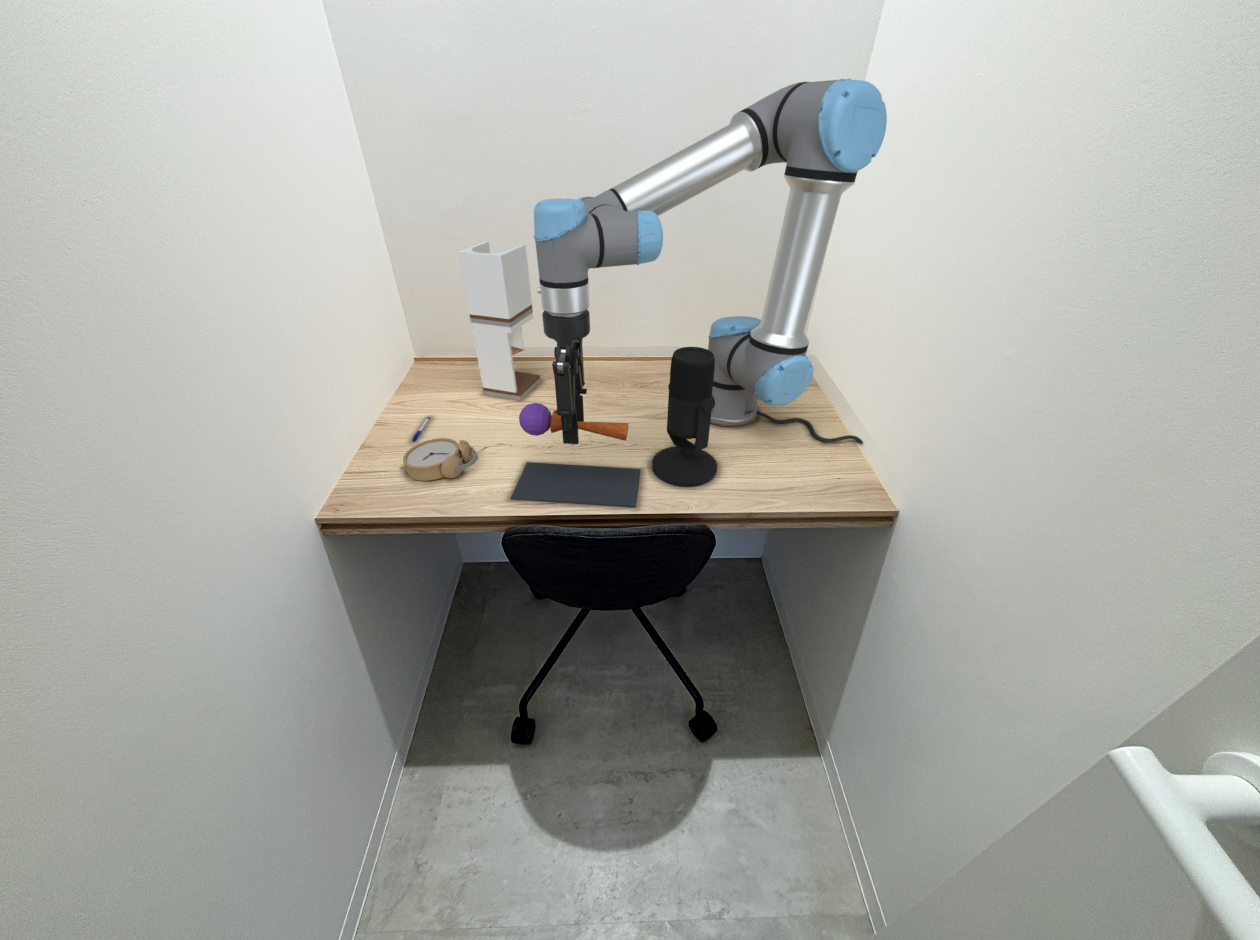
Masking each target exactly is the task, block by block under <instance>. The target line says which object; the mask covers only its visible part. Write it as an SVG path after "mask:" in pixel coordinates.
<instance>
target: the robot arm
mask: <svg viewBox="0 0 1260 940" xmlns="http://www.w3.org/2000/svg"><path fill="white" fill-rule="evenodd" d="M887 115H888V114H887V107H886V102H885V101H884V100H883V95H882V93H881V91H880V90H879V89H878V88H877V87H876V85H874V84H873V83H871V82H869V81H867V80H861V79H852V78H839V79H831V80H819V81H818V80H817V81H798V82H794V83H791V84H789V85H787V86H784V87H782V88H780V89H778V90H776V91H774V92H773V93H770V94H768V95H766V96H765V97H763V98H760V99H759V100H758V101H756V102H754V103H753V104H751V105H749V106H747V107H745V108H744V109H742V110H740V111H738V112H736V113H734V114H733V116H732V117H731V119H730V122H729V124H728V125H726V126H724V127H722V128H719V129H718V130H716V131H714V132H713V133H711V134H709V135H707V136H705V137H703V138H702V139H700V140H698V141H696V142H694V143H693V144H691V145H689V146H687V147H685V148H683V149H681V150H679V151H677V152H676V153H674V154H672V155H670V156H668V157H666V158H665V159H663V160H661V161H659V162H657V163H655V164H654V165H652V166H650V167H648V168H646V169H644V170H643V171H641V172H639V173H636V174H635V175H633V176H631V177H630V178H627V179H625V180H624V181H622V182H620V183H618V184H616V185H615V186H613V187H611V188H609V189H607V190H605V191H602V192H601V193H599V194H597V195H596V196H582V197H579V198H547V199H543V200H540V201H538V202H537V203H536V204H535V205H534V208H533V231H534V232H533V238H534V242H535V252H536V260H537V269H538V279H539V281H538V282H539V287H537V289H536V293H537V294H539V295H540V303H541V308H542V310H543V312H542V313H541V317H542V323H543V324H542V327H543V334H544V336H546V337H547V338H549V339H552V340H554V341H555V342H556V346H554V351H553V352H554V353H553V354H554V358H555V360H553V361H552V363H551V367H552V372H553V377H554V390H555V401H556V403H555V404H556V410H555V411H556V413H557V415H560V416H561V422H562V430H561V432H562V434H561V435H562V444H566V445H579V443H580V441H579V439H580V438H579V429H578V422H585V412H584V411H585V410H584V395H587V394H588V389H587V388H584V387H585V385H586V382H585V370H584V368H585V367H584V351H583V350H584V349H583V343H584V341H583V339H585V338H586V337H588V336H589V334H590V333H591V317H590V311H589V308H590V285H589V269H599V268H610V267H621V266H632V265H633V266H634V265H636V266H639V265H641V264H647V263H652V262H655V261H656V260H657V259H658V258H659V257H660V255H661V254H662V251H663V250H662V249H663V244H664V243H663V242H664V231H663V225H662V222H661V219H660V217H659V216H662V215H663V214H665V213H667V212H668V211H671V210H672V209H675V208H676V207H677V206H680V205H682V204H684V203H685V202H688V201H689V200H691V199H693V198H694V197H696V196H698V195H700V194H702V193H703V192H705V191H708V190H709V189H711V188H712V187H714V186H716V185H719V184H720V183H722V182H724V181H726V180H728V179H729V178H731V177H733V176H735V175H736V174H739V173H740V172H742V171H746V172H749V173H750V172H751V173H752V172H755V171H757V170H758V169H760V168H762V167H764V166H767V165H773V164H781V163H782V164H783V163H784V164H785V163H786V165H785V168H784V170H785V171H784V173H783V174H784V175H783V178H784V179H785V182H786V184H787V185H788V186H789V192H788V197H787V202H786V207H785V211H784V215H783V220H782V224H781V229H780V234H779V238H778V242H777V247H776V252H775V256H774V261H773V265H772V269H771V274H770V279H769V283H768V286H767V287H768V288H767V291H766V297H765V301H764V306H763V309H762V315H761V319H760V318H758V317H753V316H744V315H742V316H741V315H736V316H733V315H732V316H726V317H721V318H718V319H716V320H714V321H713V323H711V325H710V329H709V334H708V345H707V350H709V351H711V352H712V353H713V354H714V358H715V370H714V380H713V389H712V396H713V397H714V399H715V407H714V408H713V409H712V413H711V422H710V424H711V425H714V426H719V427H730V428H731V427H733V428H734V427H741V426H745V425H749V424H750V423H752V422H754V421H755V420H756V418H757V417H758V416H760V417H763V418H764V419H767V420H769V421H771V422H773V423H775V424H789V423H794V422H795V423H796V422H797V423H798V422H800V423H802V424H805V425H806V426H807V427H808V428H809V431H810V433H811V435H812V436H813V438H815V440H818V441H820V442H824V443H835V442H840V441H845V440H854V441H856V442H857V443H858V444H861V445H863V444H864V441H863V440H862V439H861V438H860V437H858V436H856V435H842V436H839V437H837V436H836V437H832V438H830V437H829V438H826V437H822V436H821V435H819V434H817V433H816V431H815V429H814V427H813V425H812V423H811V422H810V421H809V420H807V419H804V418H800V417H793V418H786V419H777V418H774V417H772V416H771V415H768V414H766V413H764V412H761V411H759V404H758V401H760V402H763V403H764V404H765V405H767V406H770V407H782V406H785V405H788V404H791V403H792V402H794V401H795V400H796V399H797V398H798V397H800V396H801V395H802V394H803V393H804V392H805V391H806V390H807V389H808V387H809V385H810V383H811V382H812V379H813V377H814V365H813V363H812V361H811V360H810V359H809V358H808V357H807V356H806V355H807V352H808V348H809V345H810V338H809V337H808V336H807V334H806V333H805V329H806V326H807V322H808V318H809V316H810V315H809V314H810V312H811V307H812V304H813V300H814V297H815V293H816V289H817V285H818V282H819V278H820V275H821V271H822V268H823V263H824V259H825V257H826V253H827V250H828V245H829V242H830V238H831V234H832V230H833V227H834V224H835V220H836V216H837V212H838V209H839V206H840V201H841V198H842V196H843V194H844V193H845V192H846V191H847V190H849V189H850V188H851V187H852V186H854V185H855V183H856V179H857V178H856V177H857V175H858V172H859V171H861V170H863V169H864V168H866V167H867V166H869V164H870V163H871V162H872V158H876V156H877V155H878V153H879V151H880V149H881V147H882V145H883V141H884V139H885V136H886V131H887V122H888V120H887V119H888V116H887ZM859 438H860V439H859Z"/></svg>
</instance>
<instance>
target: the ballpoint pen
mask: <svg viewBox="0 0 1260 940" xmlns="http://www.w3.org/2000/svg"><path fill="white" fill-rule="evenodd" d="M429 420H430V416H428V417H427V418H425V420H424V422H423V423H422V425H421V426H420V427H419V428H418V430H417V431H416V432H415V434H414V436H413V438H412V440H411V441H412V442H413V443H414V442H416V441H417V440H418V438H419V437H420V435H421V434H422V431H423V430H424V428H425V427H426V425H427V424H428V422H429Z"/></svg>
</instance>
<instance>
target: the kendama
mask: <svg viewBox="0 0 1260 940" xmlns="http://www.w3.org/2000/svg"><path fill="white" fill-rule="evenodd" d="M518 421H519V426H520V428H521V429H522V431H523V432H525V433H526V434H528V435H530V436H535V437H538V436H542V435H544V434H545V433H547V432H548V431H549V430H550V434H553V433H557V432H560V431H561V432H562V422H561V416H560V415H557V413H556V410H555V409H554V410H553V411H552V412H551V410H550V408H548V407H547V406H546V405H544V404H543V403H541V402H540V403H539V402H532V403H528V404H526V405H525V406H524V407H523V408H521V410H520V413H519V415H518ZM578 430H581V431H585V432H588V433H592V434H596V435H601V436H605V437H608V438H611V439H612V438H613V439H616V440H619V441H624V442H626V441H627V439H628V432H629V422H611V421H608V422H607V421H584V422H578Z"/></svg>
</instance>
